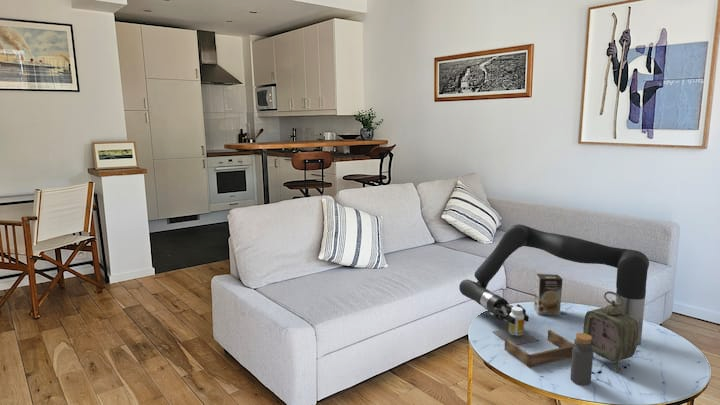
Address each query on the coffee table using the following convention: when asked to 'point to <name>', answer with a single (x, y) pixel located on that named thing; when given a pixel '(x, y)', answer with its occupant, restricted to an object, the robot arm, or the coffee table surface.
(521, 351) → the walnut u-shaped bay
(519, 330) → the supplement bottle
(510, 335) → the rubber mat
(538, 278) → the coffee box
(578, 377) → the bottle
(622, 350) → the tabletop clock
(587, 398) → the coffee table surface
